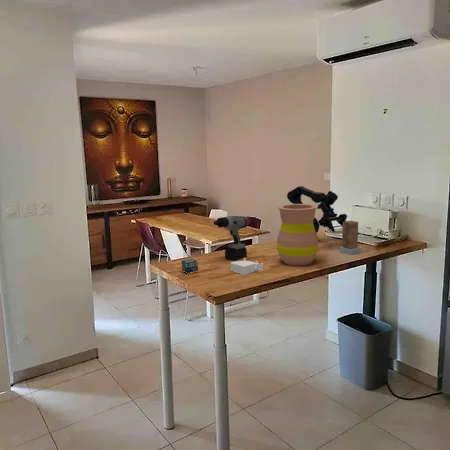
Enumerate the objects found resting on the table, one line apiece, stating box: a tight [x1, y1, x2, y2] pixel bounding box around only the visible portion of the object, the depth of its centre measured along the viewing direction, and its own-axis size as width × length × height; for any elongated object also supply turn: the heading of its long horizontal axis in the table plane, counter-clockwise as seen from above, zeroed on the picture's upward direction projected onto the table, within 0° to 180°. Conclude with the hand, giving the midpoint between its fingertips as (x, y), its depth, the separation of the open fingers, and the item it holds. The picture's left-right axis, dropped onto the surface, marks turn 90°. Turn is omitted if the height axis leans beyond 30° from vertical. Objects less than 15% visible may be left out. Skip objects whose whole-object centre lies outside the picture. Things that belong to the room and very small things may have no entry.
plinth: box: [339, 246, 361, 256], centre depth 245 cm, size 8×8×3 cm
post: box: [341, 220, 359, 249], centre depth 243 cm, size 6×6×15 cm
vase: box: [276, 203, 319, 266], centre depth 228 cm, size 22×22×30 cm
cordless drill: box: [213, 215, 248, 262], centre depth 237 cm, size 8×24×25 cm, turn 137°
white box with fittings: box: [230, 257, 264, 276], centre depth 217 cm, size 8×20×16 cm
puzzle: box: [181, 258, 199, 273], centre depth 218 cm, size 6×6×6 cm
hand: (340, 230), depth 250 cm, fingers open, 9 cm apart
